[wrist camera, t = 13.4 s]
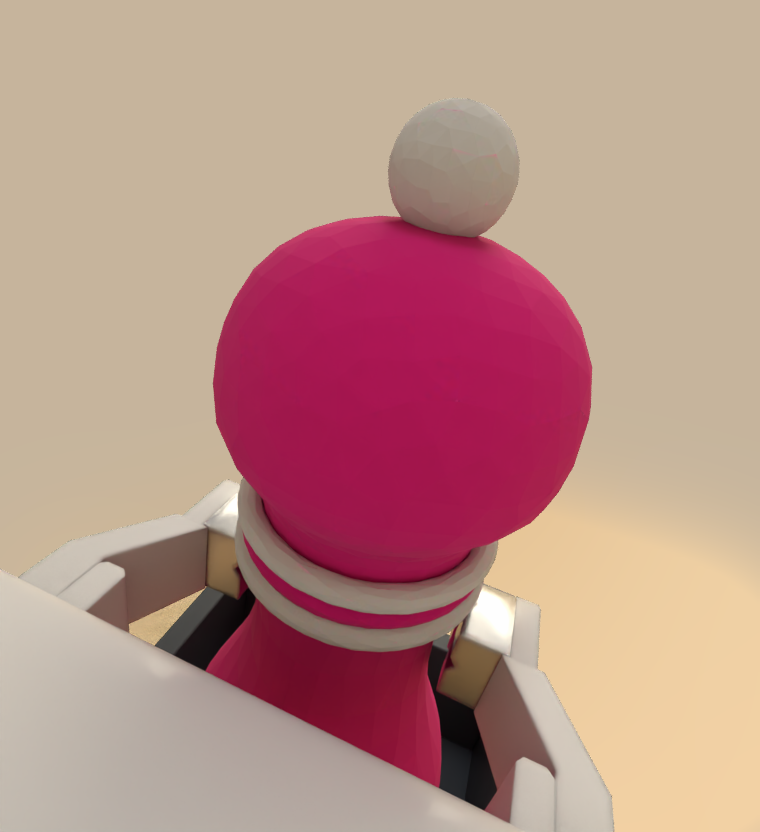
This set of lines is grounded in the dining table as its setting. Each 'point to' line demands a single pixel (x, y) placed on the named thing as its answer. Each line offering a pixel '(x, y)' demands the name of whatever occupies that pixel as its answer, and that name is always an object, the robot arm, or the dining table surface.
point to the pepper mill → (391, 435)
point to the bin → (460, 735)
